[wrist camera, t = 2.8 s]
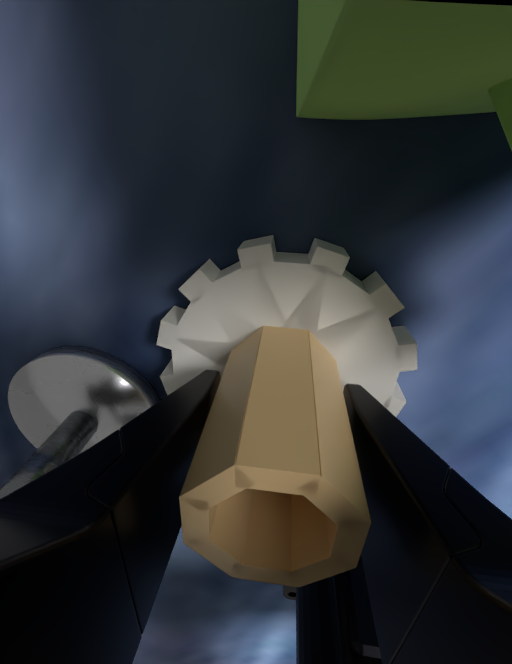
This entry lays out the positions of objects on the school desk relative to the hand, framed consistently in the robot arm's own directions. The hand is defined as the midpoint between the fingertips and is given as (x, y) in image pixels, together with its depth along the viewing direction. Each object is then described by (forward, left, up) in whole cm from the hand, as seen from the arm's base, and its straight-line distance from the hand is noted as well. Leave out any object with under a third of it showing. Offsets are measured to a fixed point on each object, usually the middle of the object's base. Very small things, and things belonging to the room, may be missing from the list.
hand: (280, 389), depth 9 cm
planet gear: (0, 0, -2) cm, 2 cm away
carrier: (-3, +8, -2) cm, 9 cm away
